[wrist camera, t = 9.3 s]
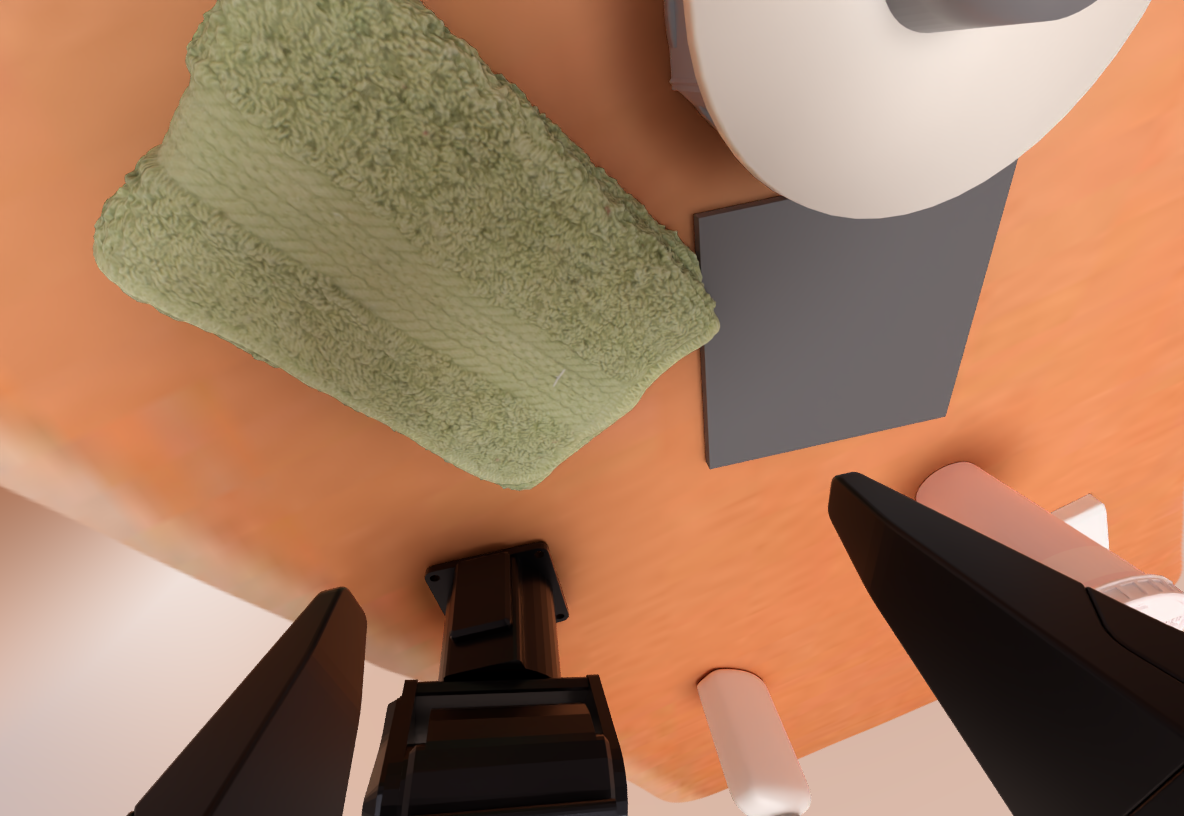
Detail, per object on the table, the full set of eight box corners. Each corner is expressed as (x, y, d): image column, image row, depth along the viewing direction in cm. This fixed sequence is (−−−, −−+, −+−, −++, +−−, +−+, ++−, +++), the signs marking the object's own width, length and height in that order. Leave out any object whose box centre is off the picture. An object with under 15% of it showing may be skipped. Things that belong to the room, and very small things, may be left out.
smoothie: (925, 541, 32) (1170, 811, 20) (872, 500, 29) (1120, 787, 17) (1021, 474, 29) (1358, 734, 18) (973, 422, 27) (1336, 693, 15)
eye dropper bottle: (715, 707, 40) (786, 920, 30) (689, 677, 36) (759, 902, 27) (767, 686, 39) (858, 896, 29) (745, 653, 36) (838, 876, 26)
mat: (936, 409, 26) (945, 416, 25) (705, 461, 25) (710, 469, 25) (1006, 148, 19) (1019, 150, 18) (693, 214, 19) (698, 218, 18)
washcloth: (527, 483, 25) (530, 531, 22) (111, 250, 17) (38, 282, 14) (728, 284, 21) (761, 314, 18) (301, -152, 13) (248, -212, 10)
